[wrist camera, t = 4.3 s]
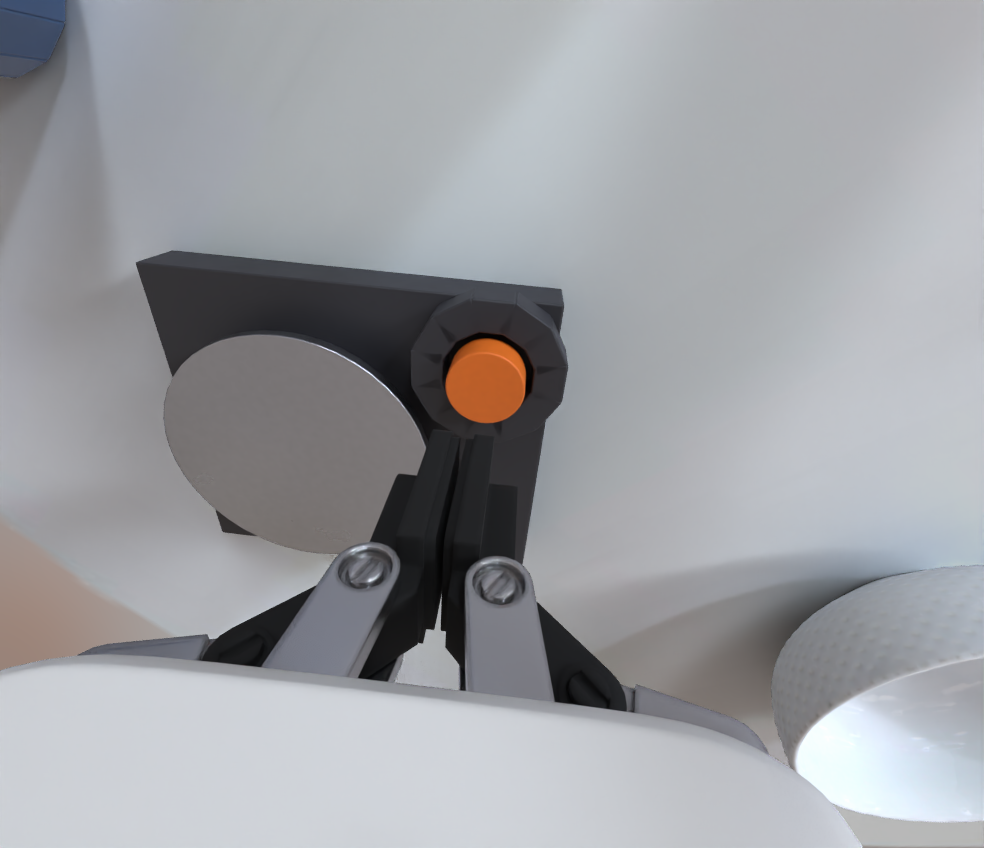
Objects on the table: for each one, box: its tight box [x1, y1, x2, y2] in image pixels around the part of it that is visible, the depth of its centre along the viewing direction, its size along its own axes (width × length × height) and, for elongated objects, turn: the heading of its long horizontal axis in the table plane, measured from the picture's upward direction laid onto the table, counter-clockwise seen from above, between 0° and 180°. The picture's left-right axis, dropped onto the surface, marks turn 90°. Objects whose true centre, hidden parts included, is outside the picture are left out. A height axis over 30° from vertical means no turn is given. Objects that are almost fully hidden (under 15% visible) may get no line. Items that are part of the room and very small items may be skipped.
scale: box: [136, 251, 568, 565], centre depth 21 cm, size 16×14×4 cm
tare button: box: [445, 338, 526, 423], centre depth 17 cm, size 3×3×1 cm
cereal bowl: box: [771, 565, 984, 822], centre depth 24 cm, size 17×17×7 cm
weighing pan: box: [164, 330, 428, 554], centre depth 20 cm, size 11×11×1 cm
